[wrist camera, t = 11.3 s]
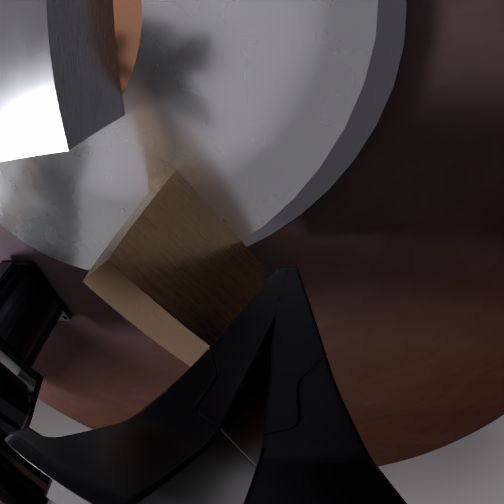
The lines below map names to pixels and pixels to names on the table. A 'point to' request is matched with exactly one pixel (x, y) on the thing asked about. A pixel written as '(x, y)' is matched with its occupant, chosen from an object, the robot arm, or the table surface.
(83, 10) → the grey square block
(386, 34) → the turntable base
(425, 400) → the table surface
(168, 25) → the turntable
